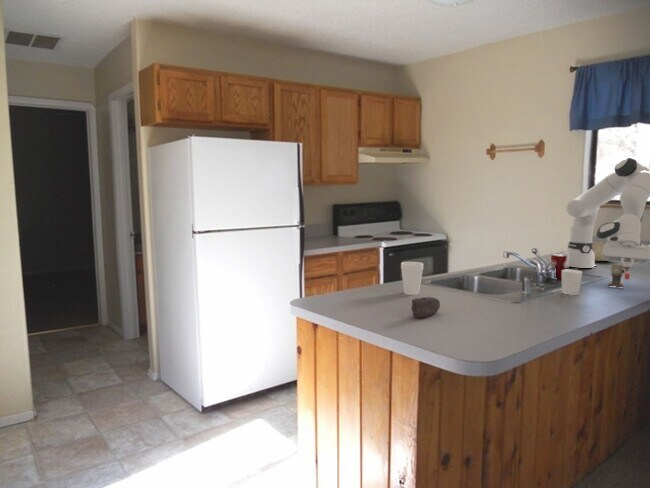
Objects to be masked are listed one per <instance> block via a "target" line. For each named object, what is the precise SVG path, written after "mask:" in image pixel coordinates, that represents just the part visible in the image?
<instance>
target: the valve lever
mask: <svg viewBox="0 0 650 488" xmlns="http://www.w3.org/2000/svg"><path fill="white" fill-rule="evenodd" d="M624 280H630V271H629V269H624Z"/></svg>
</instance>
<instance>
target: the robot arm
mask: <svg viewBox="0 0 650 488" xmlns="http://www.w3.org/2000/svg"><path fill="white" fill-rule="evenodd" d="M620 193H621V194H620ZM618 195H620V197H619V202H620V204H621V205H620V206H621V207H622V209H623V210H622V211H623V214H622V215H621V216H620V217H619V218H618V219H616V220H614V221H612V222H606V223H603V224H601V225H600V226H599V227H598V229H597V230H596V233H595V234H596V237H597V238H598V240H599V242H602V243H603V245H604V247H603V251H602V259H603V260H608V261H613V262H614V261H616V262H620V264H621V266H623V270H625V269H628V270H631V268H632V266H633V265H634V263H638V264H650V244H643V243H642V244H641V236H640V235H641V231H642V224H641V223H642V220H643V217H644V211H645V206H646V204H647V201H648V199H649V198H650V169H649V168H648V167H647V166H646V165H643V163H641V162H639V161H638V160H637V159H636V158H634V157H631V156H626V157H623V158H621V159H620V160H619V161H618V162H617V163H616V165H615V166H614V171H612V172H610V173H609V174H608V175H606V176H605V177H604V178H602V179H601V180H600V181H599V182H597V183H596V184H595V185H593V186H592V187H591V188H588V189H587V190H586V191H584V192H582V193H581V194H580V195H578V196H576V197H575V198H573V199H571V200H569V202H568V203H567V205H566V211H567V213H568V215H569V216H571V217H573V218H574V220H573V222H572V225H571V227H570V236H569V237H570V239H569V241H568V245H567V249H565V250H564V251H563V252H562V253H561V254H564V255H566V256H567V266H572V267H580V268H591V267H594V266H597V264H596V263H595V262H596V261H595V257H594V252H593V251H592V249H593V243H592V242H593V236H594V226H595V223H596V220H597V215H598V212H599V210H600V207H601V206H603V205H605V204H607V203H609V202H610V201H612V199H614V198H615V197H617V196H618ZM625 262H627V263H625ZM594 268H595V267H594Z"/></svg>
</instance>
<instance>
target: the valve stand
mask: <svg viewBox="0 0 650 488" xmlns="http://www.w3.org/2000/svg"><path fill="white" fill-rule="evenodd" d="M623 274H625V269H624V268H623V265H616V264H615V265H614V264H611V274H610V276H611V278H612V279H611V280H610V279H609V280H608V281H609V282H608V287H609V286H616V287H623V288H624V281H623V280H622V277H623Z"/></svg>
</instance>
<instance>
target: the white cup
mask: <svg viewBox="0 0 650 488" xmlns="http://www.w3.org/2000/svg"><path fill="white" fill-rule="evenodd" d="M582 276H583V271H582V270H578V269H569V268H568V269H567V268H566V269H565V270H562V280H561V294H562V293H564V294H563V295H565V294H573V295H574V294H579V295H580V291H581V290H580V289H581V284H582V278H583V277H582Z"/></svg>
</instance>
